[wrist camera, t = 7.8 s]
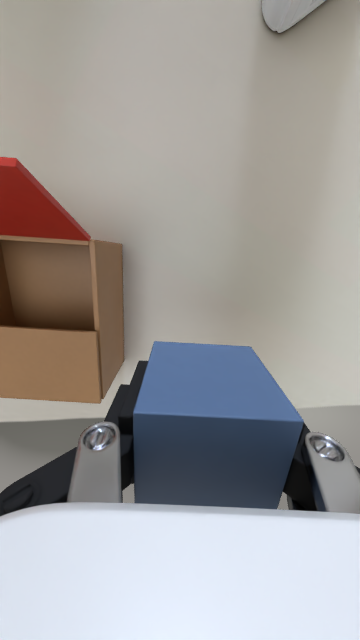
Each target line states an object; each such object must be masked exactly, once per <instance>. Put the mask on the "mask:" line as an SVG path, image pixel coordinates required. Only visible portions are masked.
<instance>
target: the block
mask: <svg viewBox="0 0 360 640" xmlns="http://www.w3.org/2000/svg"><path fill="white" fill-rule="evenodd" d="M303 423H304V421H303V419H302V418H301V416H300V415H299V413H298V412H297V411H296V409H295V408H294V406H293V405H292V404H291V402H290V401H289V399H288V398H287V397H286V395H285V394H284V392H283V391H282V390H281V388H280V387H279V385H278V384H277V383H276V381H275V380H274V378H273V377H272V376H271V374H270V373H269V371H268V370H267V369H266V367H265V366H264V364H263V363H262V362H261V360H260V359H259V357H258V356H257V355H256V353H255V352H254V351H253V349H252V348H251V347H249V346H231V345H212V344H194V343H176V342H158V341H155V342H154V344H153V347H152V351H151V354H150V357H149V361H148V364H147V367H146V371H145V374H144V378H143V381H142V384H141V388H140V391H139V394H138V398H137V401H136V405H135V408H134V411H133V435H134V493H135V503H141V504H166V505H192V506H215V507H238V508H259V509H277V507H278V504H279V501H280V498H281V494H282V491H283V488H284V485H285V482H286V478H287V475H288V472H289V469H290V465H291V462H292V459H293V456H294V453H295V449H296V446H297V443H298V440H299V436H300V433H301V430H302V427H303Z"/></svg>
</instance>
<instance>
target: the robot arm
mask: <svg viewBox="0 0 360 640" xmlns="http://www.w3.org/2000/svg"><path fill="white" fill-rule="evenodd" d="M147 364H148V361H139V362H138V365H137V367H136V370H135V372H134V375H133V378H132V380H131V383H130V385H123V384H121V385H120V387H119V389H118V391H117V393H116V396H115V398H114V400H113V402H112V405H111V407H110V409H109V411H108V413H107V416H106V418H105V420H104V422H98V423H95V424H93V425H91V426H89V427H88V428H86V429H85V430H84V431H83V432H82V434H81V435H80V438H79V441H78V446H77V447H76V448H74V449H72V450H70V451H69V452H67V453H65V454H63V455H62V456H60V457H58V458H56V459H55V460H53V461H51V462H49V463H47V464H46V465H44V466H42V467H40V468H39V469H37V470H35V471H34V472H32V473H30V474H28V475H26V476H25V477H23V478H21V479H19V480H18V481H16V482H14V483H13V484H11V485H10V486H8V487H7V488H6V489H5V490H4V491H2V492H1V493H0V640H360V468H358V467H356V466H355V465H354V463H353V461H352V459H351V457H350V455H349V453H348V452H347V450H346V449H345V448H344V447H343V446H342V445H341V444H340V443H339V442H338V441H336V440H335V439H334V438H332V437H330V436H328V435H326V434H323V433H319V432H310V431H309V429H308V428H307V426H306V425H305V423H303V427H302V430H301V433H300V436H299V440H298V443H297V446H296V449H295V453H294V456H293V459H292V462H291V465H290V469H289V472H288V475H287V478H286V482H285V485H284V488H283V492H284V493H286V494H287V502H288V507H289V510H281V509H259V508H238V507H215V506H192V505H166V504H141V503H123V502H122V500H123V499H122V498H123V497H122V491H123V490H124V489H125V488H126V487H127V486H129V485H130V484H133V483H134V435H133V411H134V408H135V405H136V401H137V398H138V394H139V391H140V388H141V384H142V381H143V378H144V374H145V371H146V367H147Z"/></svg>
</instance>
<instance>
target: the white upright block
mask: <svg viewBox="0 0 360 640" xmlns="http://www.w3.org/2000/svg"><path fill="white" fill-rule="evenodd" d="M324 1H325V0H262V12H263V17H264V19H265V22H266V24H267V25H268V26H269V27H270V28H271V29H272V30H273V31H277V32H278V33H281V32H283V31H285V30H286V29H288V28H290V27H292V26H293V25H294V24H296V23H297V22H298V21H300V20H301V19H302V18H304V17H305V16H306V15H308V14H309V13H310V12H311V11H313V10H314V9H315V8H317V7H318V6H319V5H320V4H322V3H323V2H324Z"/></svg>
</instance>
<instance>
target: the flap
mask: <svg viewBox="0 0 360 640" xmlns="http://www.w3.org/2000/svg"><path fill="white" fill-rule="evenodd" d="M0 235H8V236H23V237H37V238H52V239H67V240H81V241H90V238H91V237H90V235H89V234H88V233H87V232H86V231H85V230H84V229H83V228H82V227H81V226H80V225H79V224H78V223H77V222H76V221H75V220H74V219H73V217H72V216H71V215H70V214H69V213H68V212H67V211H66V210H65V209H64V208H63V207H62V206H61V205H60V204H59V203H58V202H57V201H56V200H55V198H54V197H53V196H52V195H51V194H50V193H49V192H48V191H47V190H46V189H45V188H44V187H43V186H42V185H41V184H40V183H39V182H38V181H37V180H36V178H35V177H34V176H33V175H32V174H31V173H30V172H29V171H28V170H27V169H26V168H25V167H24V166H23V165H22V164H21V163H20V162H19V161H18V159H16V158H7V157H0Z"/></svg>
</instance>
